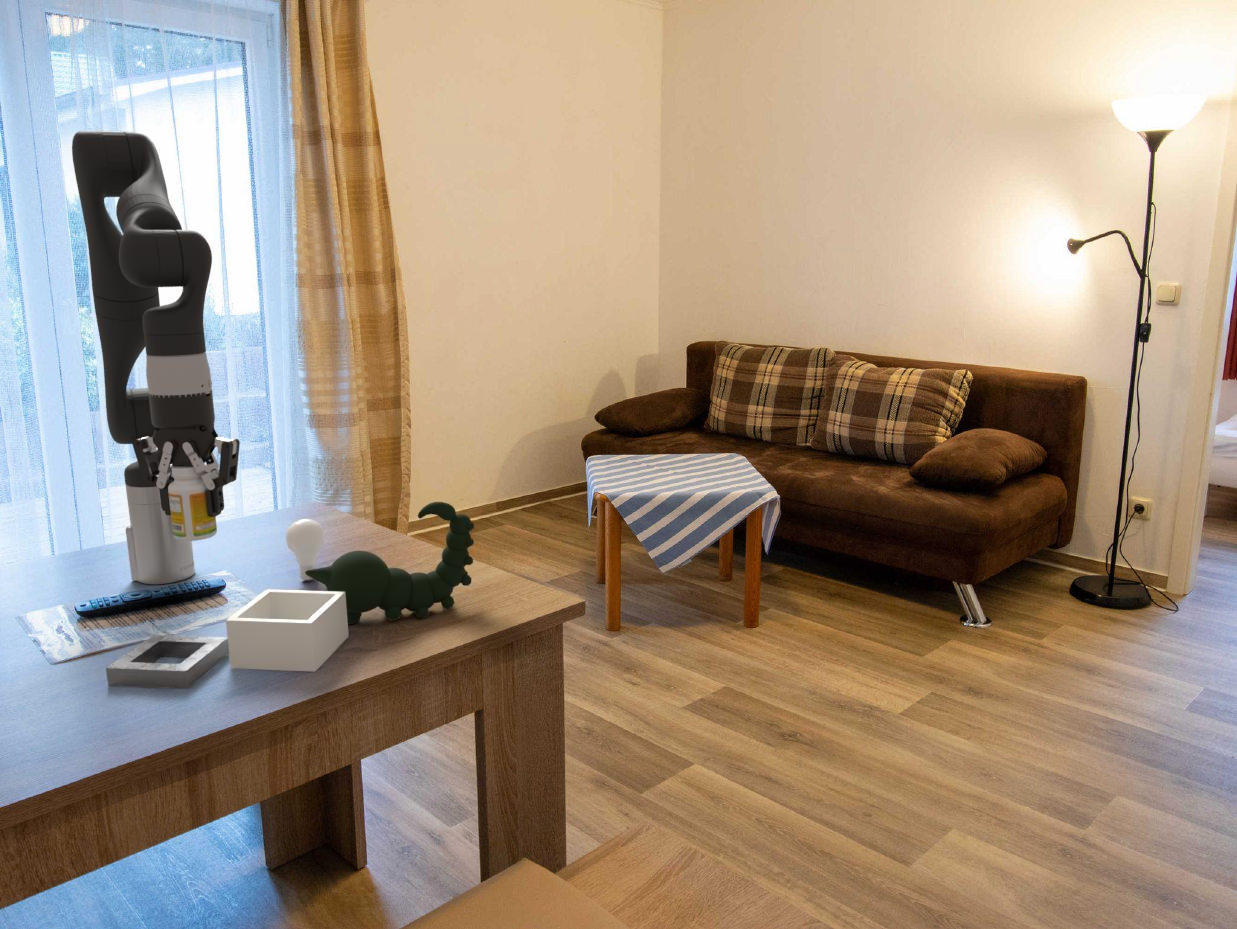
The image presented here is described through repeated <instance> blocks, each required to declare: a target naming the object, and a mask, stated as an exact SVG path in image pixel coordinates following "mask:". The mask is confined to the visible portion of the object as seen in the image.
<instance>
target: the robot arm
mask: <svg viewBox="0 0 1237 929" xmlns="http://www.w3.org/2000/svg"><path fill="white" fill-rule="evenodd" d="M71 142H72V143H71V155H72V162H73V163H72V164H73V170H74V175H75V176H74V177H75V180H76V186H77V190H78V197H79V201H80V206H81V212H82V216H83V222H84V228H85V232H86V239H87V247H88V257H89V266H90V276H91V277H90V278H91V288H92V289H91V290H92V296H93V304H94V305H93V306H94V312H95V317H96V324H97V329H98V336H99V340H100V348H101V354H102V365H103V377H104V378H103V379H104V391H105V392H104V394H105V395H104V396H105V410H106V419H107V426H108V430H109V433H110V434H109V435H110V436H111V438H112V440H113V441H114V442H116V443H117V444H119V445H132V447H133V450H134V454H135V457H136V461H134V462H132V463H130V464H128V465H127V466H125V468H124V471H123V474H124V475H123V476H124V484H125V490H126V492H125V493H126V500H127V507H128V508H127V509H128V514H129V523H130V525H128V526H126V527H125V537H126V543H127V544H126V545H127V551H128V552H127V553H128V561H129V567H130V575H131V577H130V578H131V581H134V582H139V583H142V584H145V585H163V584H171V583H175V582H180V581H183V580H185V579H188V578H190V577H192V576H194V575H195V573H196V569H195V568H196V567H195V560H194V550H193V541H179V540H176V539H175V538H174V536H173V529H172V521H171V512H170V503H169V495H168V486H169V484H170V483H172V482H173V481H175V478H173V476H172V469H171V467H172V466H182V465H186V466H189V467H194V468H195V470H196V472H197V474H198V475H200V476H201V477H202V479H203V481H204V483H205V485H206V487H207V488H208V489H207V490H205V493H206V502H207V512H208V516H209V517H216V518H217V517H218V516H219V515H221V514H222V511H223V510H224V509H225V502H224V501H225V500H224V492H223V491H224V486H227V485H228V484H231V483H233V482H235V481H236V480H237V477H238V476H237V475H238V466H239V455H240V444H241V442H240V440H239V438H236V437H233V438H231V439H229V438H224V437H220V436H219V435H218V433H217V431H216V430H215V420H216V415H215V408H214V396H213V387H212V385H213V381H212V378H211V370H210V369H211V368H210V363H209V361H208V356H207V348H206V347H207V346H206V338H205V337H206V336H205V329H204V327H205V326H204V310H205V301H206V294H207V288H208V284H209V281H210V280H209V279H210V276H211V270H212V264H213V253H212V249H211V246H210V244H209V242H208V241H207V238H205V237H204V235H202V234H201V233H200V232H198V231H196V230H191V229H183V228H182V224H181V223H180V220H179V218H178V216H177V214H176V212H175V211H174V208H173V207H172V205H171V203H170V198H169V194H168V187H167V184H166V179H165V175H164V170H163V166H162V163H161V160H160V156H159V152H158V150H157V148H156V145H155V144H154V142H153V141H152V139H151V138H150V137H149V136H148V135H146V134H145V133H142V132H138V131H136V132H135V131H122V130H120V131H119V130H79V131H77V132H76V133H75V134H74V135H73V136H72V141H71ZM106 198H118V199H117V204H116V207H115V209H116V210H115V211H116V213H115V214H116V215H115V216H116V218H117V223H118V225H119V228H120V229H121V230H120V229H119V228H118V226H117V225H116V224H115V222H114V220H113V219H112V217H111V214H110V213H109V212H108V210H107V207H106V204H105V199H106ZM176 287H177V288H178V287H182V292H181V294H180V296H179V297H178V299H177V300H176V301H174V302H173V301H172V303H167V304H164V305H161V303H160V302H161V301H160V294H159V293H160V292H159V288H176ZM144 349H145V354H146V357H145V358H146V359H145V360H146V362H145V364H146V368H145V373H146V375H145V376H146V383H147V384H146V385H147V387H141V388H138V387H136V388H131V389H130V388H127V386H128V382H129V379H130V375H131V373H132V370H133V367H134V366H135V364H136V361H137V360H138V358H139V357H140V355H141V354H142V352H143V351H144ZM216 447H217V454H219V455H220V457H219V463H218V460H217V459H216V456H215V454H214V450H215V448H216ZM205 463H206V464H205Z"/></svg>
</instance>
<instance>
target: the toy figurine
mask: <svg viewBox="0 0 1237 929" xmlns="http://www.w3.org/2000/svg"><path fill="white" fill-rule="evenodd" d="M428 515H433V516H438V517H439V518H440V519H443V521H447V522H449V531H448V532H447V534H446V536H445V543H446V544H445V545H446V546H445V548H443V550H442V553H441V561H440V562H438V564H437V565H436V566H435V570H431V571H430V572H428V573H425V572H413V573H409V572H408V571H407V570H404V569H402V568H399V567H390V568H389V566H388V564H386V562H385V561H384V560H383V559H382V558H381V557H380V556H378V555H377V554H375V553H372V552H369V551H367V550H353V551H349V552H346V553H344V554H341V555H340V556H339V557H338V558H337V559H336V560H335V561H334V562H333V563H332V564H331V565H329V566H324V567H319V568H318V567H316V569H312V570H307V571H306V572H305V574H306V575H307V576H309V577H311V578H313V580H315V581H317V582H318V583H320V584H322V585H323V586H325V587H326V591H338V592H345V594H346V608H347V622H348V624H349V625H354V624H356V623H357V622H359V621H360V620H361V618H362V614H363V613H367V612H370V611H372V610H375V609H376V608H379V609H380V610H382V611H384V614H385V615H384V616H385V617H386V619H388V620H390V621H391V622H393V621H397V620H399V619H400V617H401V616H402V615H403V613H402V611H403V610H405V609H406V610H408V611H409V612H414V614H415V616H416V617H417V618H418V619H422V618H424V619H425V618H427V617H428V616H429V612H430V610H429V609H430V608H432V607H433V605H434V604H439V603H441V607H443V608H445V609H447V610H448V609H450V608H452V607H453V606H454V604H455V599H454V597H453V596H452V594H453V591H454V588H456V587H458V586H459V585H460V584H461V585H462V586H466V587H467V586H469V585H471V583H472V577H471V576H470V574H469V573H468V572H467V570H466V568H465V567H466V566H471V565H472V564H474V559H473V557H472V556H470V554H469V550H468V549H469V548H470V547H471V546H472V547H473V546H474V543H475V540H474V539H473V538H472V536H471V533H470V531H472V530H474V529H475V523H474V522H472V520H471V518H470V516H468V515H466V514H464V513H458V514H457V512H456V509H455V507H454V506H453V505H451V504H450V503H447V502H443V501H433V502H429V503H428V504H426V505H425V506H424V507H422V508H421V509H420V511H419V512H418V514H417V517H418V519H422V518H424V517H425V516H428Z"/></svg>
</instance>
